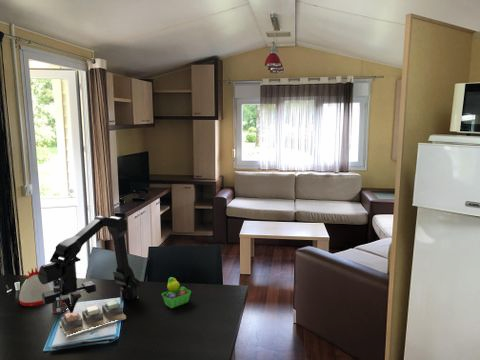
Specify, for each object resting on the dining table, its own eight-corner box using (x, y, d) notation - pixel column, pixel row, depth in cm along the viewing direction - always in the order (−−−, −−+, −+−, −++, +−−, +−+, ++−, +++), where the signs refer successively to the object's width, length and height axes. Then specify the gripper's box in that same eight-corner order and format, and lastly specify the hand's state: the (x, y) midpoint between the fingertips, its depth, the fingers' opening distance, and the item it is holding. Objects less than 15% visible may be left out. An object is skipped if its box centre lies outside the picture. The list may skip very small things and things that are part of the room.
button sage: (115, 305, 162) (115, 299, 161) (118, 309, 159) (118, 303, 158) (105, 308, 160) (105, 302, 159) (109, 312, 156) (108, 305, 156)
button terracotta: (75, 317, 152) (75, 310, 152) (78, 321, 149) (77, 314, 149) (65, 320, 150) (64, 313, 150) (67, 324, 147) (67, 318, 146)
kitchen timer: (55, 300, 174) (53, 269, 171) (21, 309, 166) (17, 276, 164) (50, 289, 185) (48, 260, 183) (18, 297, 177) (15, 266, 175)
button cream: (96, 311, 157) (95, 305, 157) (99, 315, 154) (98, 308, 154) (86, 314, 155) (85, 307, 154) (89, 318, 152) (88, 311, 151)
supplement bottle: (61, 314, 160) (59, 289, 159) (49, 313, 162) (47, 288, 160) (70, 308, 166) (69, 283, 165) (58, 306, 167) (56, 282, 166)
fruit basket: (170, 310, 164) (169, 285, 162) (159, 303, 170) (158, 279, 169) (192, 302, 171) (191, 278, 169) (181, 295, 178) (180, 272, 176)
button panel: (116, 307, 166) (115, 298, 166) (126, 318, 157) (125, 309, 156) (59, 324, 153) (58, 314, 152) (66, 337, 143) (65, 327, 143)
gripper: (87, 263, 159) (89, 298, 161) (37, 274, 147) (40, 311, 150) (95, 271, 150) (97, 308, 152) (43, 283, 139) (46, 323, 141)
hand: (71, 312), depth 149 cm, fingers closed
